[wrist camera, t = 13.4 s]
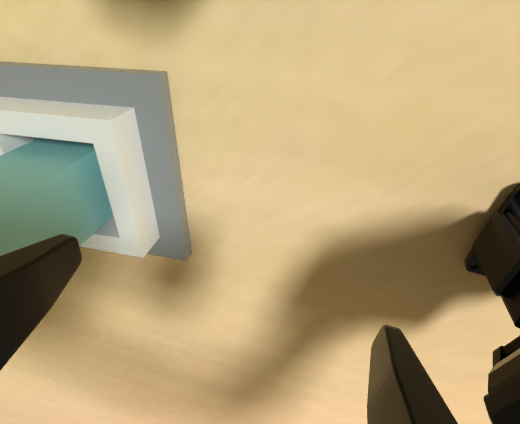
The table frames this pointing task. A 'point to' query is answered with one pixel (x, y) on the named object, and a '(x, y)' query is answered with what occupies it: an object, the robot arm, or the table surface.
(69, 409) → the table surface
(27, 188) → the teal rectangular block
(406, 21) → the table surface
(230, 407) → the table surface
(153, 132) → the square socket base
